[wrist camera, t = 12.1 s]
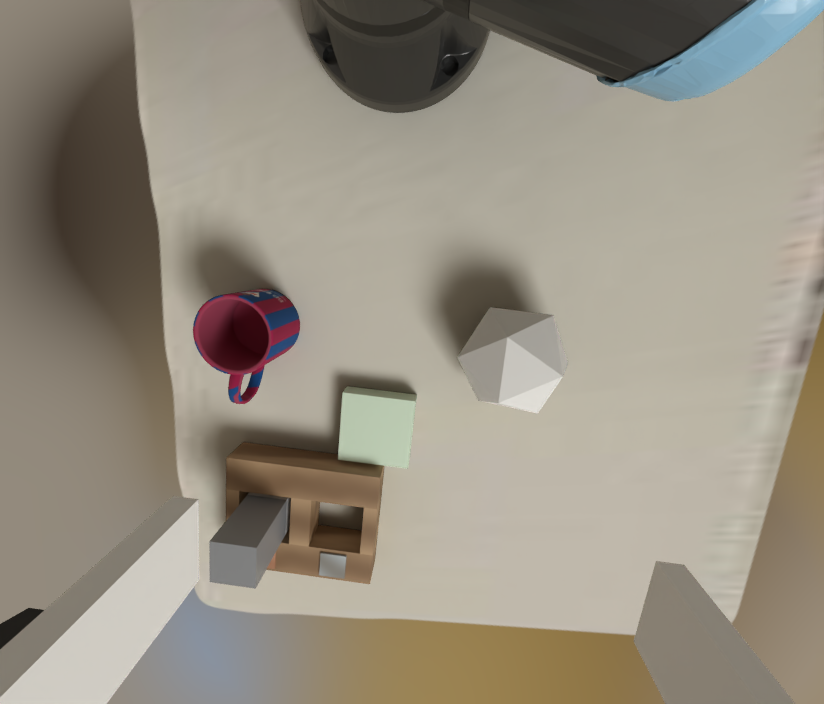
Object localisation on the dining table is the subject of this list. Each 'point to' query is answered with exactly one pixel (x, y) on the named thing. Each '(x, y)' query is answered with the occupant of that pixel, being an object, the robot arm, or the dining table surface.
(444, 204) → the dining table surface
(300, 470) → the socket block
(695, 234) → the dining table surface
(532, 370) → the die
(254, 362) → the mug
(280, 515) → the plug
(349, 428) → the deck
